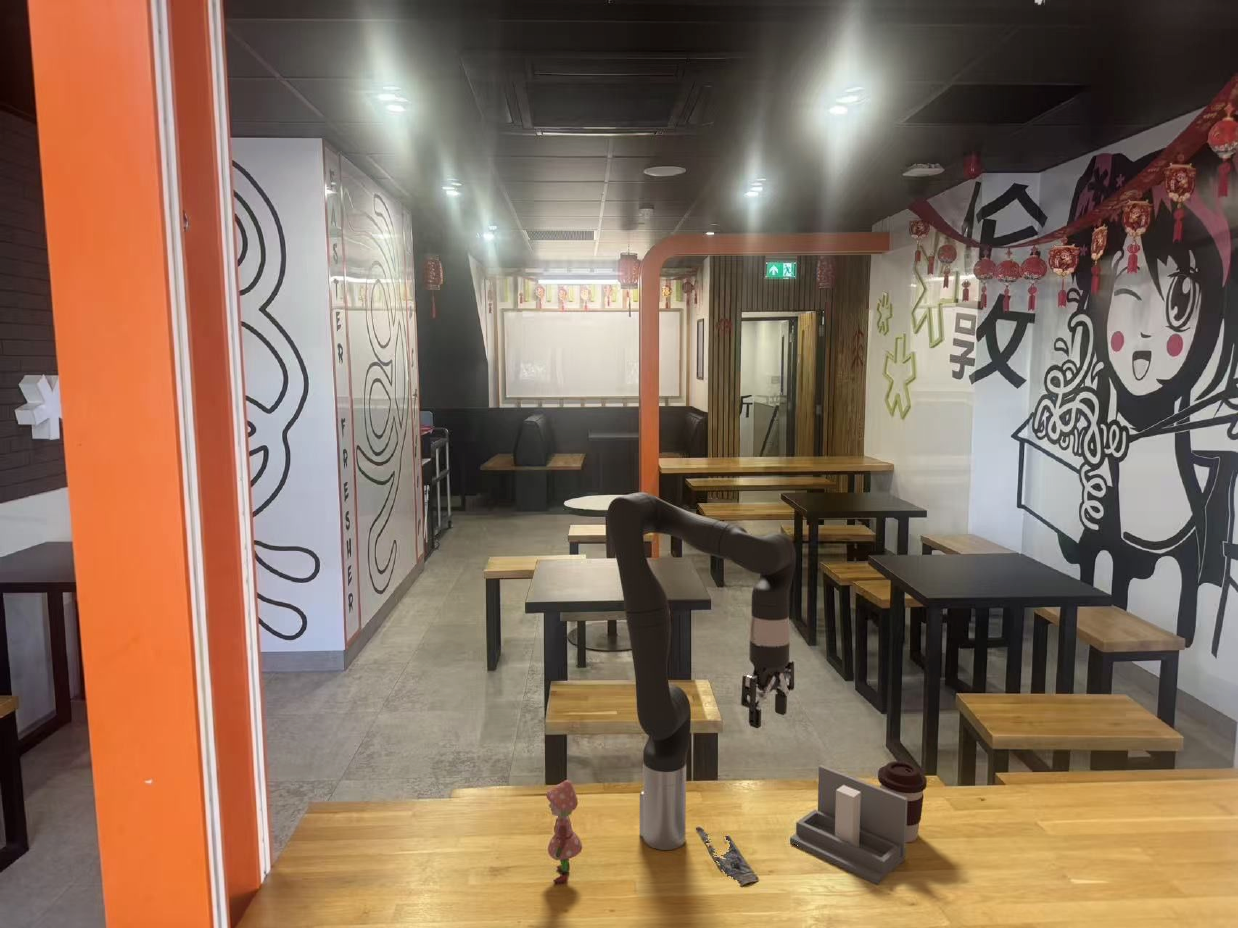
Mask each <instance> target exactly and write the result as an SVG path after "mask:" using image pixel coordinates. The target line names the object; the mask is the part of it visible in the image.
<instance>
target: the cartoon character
mask: <svg viewBox="0 0 1238 928" xmlns="http://www.w3.org/2000/svg"><path fill="white" fill-rule="evenodd" d="M546 799H547V801H549V804H548V807H549V808H550V810H551V814H552V815H553V816H557V817H556V818H555V823H554V825H553V832H554V834H553V836H552V837H551V838H550V841H549V843H548V847H547V853H548V854H549V857H551V858H552V859H553V860H555V861H559V862H560V864H559V865H556V868H557V870H559V871H561V874H560V875H559V876H558V877H556V878H555V879H552V880H553V883H554V884H560V883H562V884H565V883H567V881H568V879H569V878H568V873H569V872H570V868H571V867H570V859H572V858H574V857H576V856H577V855H579V854H580V853H581V852H582V849H583V844H582V840H581V839H580V837H579V836H578V834H577V833H575V831H573V828H572V822H571V819H570V818H571V817H570V815H572V813H573V811H575V810H577V809H576V808H577V806H578V803H579V802H578V796H577V793H576V790H575V788H574V786H573V783H572V782H571V781H570V780H568V779H565V780H563V781H562V782H560V783H558V784H556V786H554V787H553V788H551V789H548V791H546Z"/></svg>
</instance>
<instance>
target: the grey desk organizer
mask: <svg viewBox="0 0 1238 928" xmlns="http://www.w3.org/2000/svg"><path fill="white" fill-rule="evenodd" d="M817 785H818V786H817V787H818V789H817V790H818V792H817V809H815V808H814V809H813V810H811V811H810V812H808V813H807V814H805V816H803V817H802V818H800V819H799V820H798V821H796V823H795V824H796V825H795V833H794V834H792V835H791V836H790V837H789V844H791V843H793V844H792V845H794V844H795V845H794V846H796V845H798V846H797V847H798V848H800V849H802V848H803V850H804V851H806V850H807V852H808V853H810V854H812V853H813V855H814V856H816V857H818V858H821V859H822V860H824V861H827V862H829V863H831V864H834V865H836V866H837V867H840V868H842V869H844V870H845V871H848V872H850V873H852V874H854V875H856V876H858V877H860V878H863V879H865V880H867V881H869V882H870V883H872V884H875V885H876V886H878V885H879V884H880V883H881V882H883V880H884V879H886V878H887V877H888V876H889V875H890V874H891V873H892V872H894V870H895V869H897V868H898V866H900V865H901V864H902V863H903V862H904V861H905V860H906V853H907V852H906V850H907V846H906V845H907V842H906V827H907V801H908V798H906V797H903V796H901V795H898V794H895V793H893V792H890V791H888V790H885V789H882V788H880V787H879V786H876V785H874V784H872V783H870V782H866V781H864V780H861V779H859V778H856V777H855V776H851V775H849V774H846V773H844V772H841V771H838V770H836V769H833V768H831V767H828V766H825V765H822V764H820V765H819V766H818V784H817ZM843 785H845V786H847V787H850V788H852V789H855V790H857V791H860V792H861V801H860V833H859V847H856V846H854V845H852V844H850V843H848V842H845V841H843V840H841V839H839V838H837V837H835V811H836V790H837V789H838V788H840V787H841V786H843Z"/></svg>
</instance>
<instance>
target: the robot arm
mask: <svg viewBox="0 0 1238 928" xmlns="http://www.w3.org/2000/svg"><path fill="white" fill-rule="evenodd" d="M606 520H607V527H608V531H609V537H610V539H611V544H612V547H613V551H614V555H615V558H616V563H617V568H618V574H619V578H620V579H619V580H620V585H621V591H622V596H623V597H622V598H623V604H624V612H625V619H626V626H627V631H628V635H629V642H630V648H631V649H630V651H631V656H632V662H633V668H634V678H635V694H636V696H635V697H636V698H635V699H636V713H637V719H638V722H639V725H640V727H641V729H642V730H643V732H644V733H645V734H646V735H647V736H648V739H647V741H646V743H645V745H644V748H643V751H642V752H643V753H642V791H641V792H639V836H641V837H642V839H643V841H644V843H645V844H646V845H647V846H649V847H650V848H652V849H656V850H660V851H661V850H662V851H672V850H675V849H677V848H680V847H682V846H683V845H684V843H685V842H686V832H687V831H686V830H687V829H686V828H687V825H686V824H687V823H686V821H687V820H686V819H687V814H686V813H687V755H688V751H689V748H690V743H691V741H690V740H691V726H692V725H691V724H692V720H691V719H692V711H691V710H692V709H691V703H690V699H689V698H688V695H687V694H686V692H685V691H684V690H683V689H682V688H680V687H679V686H677V685H675V684H673V683H669V679H668V678H669V677H668V660H669V655H670V654H669V653H670V644H671V638H672V622H671V621H672V619H671V615H670V607H669V601H668V597H667V594H666V591H665V589H664V587H663V586H662V584H661V582H660V580H659V579H658V578H657V576H656V574H655V573H654V572H653V569H652V568H651V566H650V565H649V562H648V557H647V554H646V548H645V542H644V541H645V540H644V536H646V535H648V534H651V533H652V534H661V535H667V536H672V537H675V538H678V539H679V540H682V541H683V542H685V543H686V544H687V545H689V546H691V547H692V548H694V549H695V550H697V551H698V552H702V553H704V554H707V555H710V556H714V557H716V558H721V559H724V560H727V561H731V562H732V563H734V564H735V565H737V566H739V567H742V568H743V569H744V570H747V571H749V572H752V573H753V574H759V580H758V581H757V583H756V584H755V585H754V586H753V588H752V593H751V613H750V615H751V617H750V622H749V650H748V651H749V652H748V653H749V656H748V657H749V661H750V663H751V664H752V665H753V672H752V674H751V675H747V674H744V675H742V681H741V697H740V699H741V700H740V701H741V702H740V705H741V706H742V707H745V708H748V723H749V726H750V727H752V728H754V729H760V728H761V727H762V705H763V703H764V700H766V699H767V698H768V697H769V695H770V693H771V692H772V691H774V692H775V696H774V699H775V700H774V712H775V713H776V714H779V715H782V716H784V715H786V714H787V707H788V706H787V705H788V704H787V703H788V696H789V695H790V691H794V690H795V662H794V660H793V661H792V660H790V645H791V643H790V642H791V641H790V638H791V637H790V635H791V634H790V633H791V627H790V619H789V618H790V616H789V615H790V591H791V586H792V583H793V577H794V573H795V568H796V561H797V560H796V559H797V558H796V557H797V556H796V555H797V554H796V547H795V545H794V543H793V541H792V539H791V538H790V537H789V536H787V535H786V534H784V533H782V532H781V533H780V532H774V533H773V532H772V533H769V534H767V535H764V536H758V535H752V534H750V533H748V532H747V531H746V529H745V528H743V527H741V526H739V525H737V524H734V523H730V522H726V521H723V520H719V519H715V518H711V517H708V516H704V515H700V514H697V513H693V512H691V511H688V510H685V509H684V508H681V507H678V506H676V505H673V504H672V503H669V502H667V501H665V500H663V499H661V498H659V497H656V496H654V495H652V494H650V493H646V492H643V491H642V492H641V491H640V492H634V493H628V494H625V495H621V496H617V497H615V498H613V499H612V500H611V502H610V503H609V505H608V507H607V514H606ZM787 679H788V682H787ZM757 689H758V690H759V691H758V690H757ZM757 697H758V698H757Z"/></svg>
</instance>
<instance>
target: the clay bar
mask: <svg viewBox="0 0 1238 928" xmlns="http://www.w3.org/2000/svg"><path fill="white" fill-rule="evenodd" d="M860 801H861V792H860V791H857V790H855V789H852V788H850V787H847V786H845V785H843V786H841V787H840V788H838V789H837V790H836V811H835V837H837V838H839V839H841V840H843V841H845V842H848V843H850V844H852V845H854V846H856V847H859V833H860Z"/></svg>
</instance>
